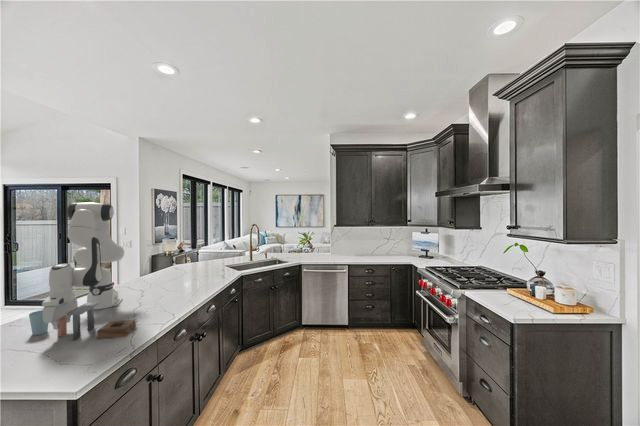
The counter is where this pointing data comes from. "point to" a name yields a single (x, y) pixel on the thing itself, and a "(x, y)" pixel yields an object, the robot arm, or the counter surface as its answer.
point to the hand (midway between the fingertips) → (62, 325)
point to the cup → (38, 323)
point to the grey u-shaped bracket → (76, 318)
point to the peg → (62, 327)
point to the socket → (116, 329)
